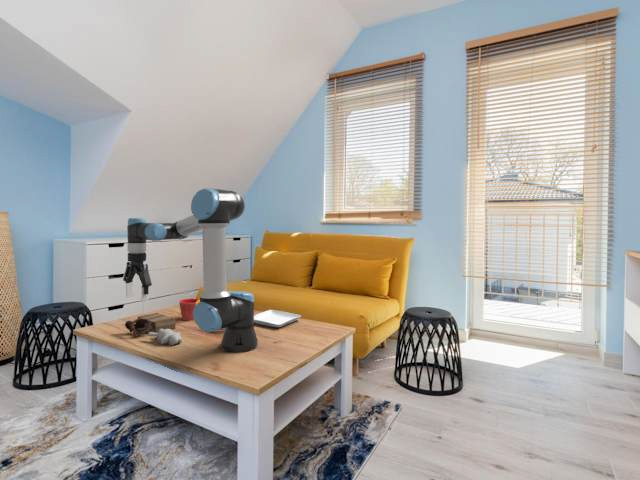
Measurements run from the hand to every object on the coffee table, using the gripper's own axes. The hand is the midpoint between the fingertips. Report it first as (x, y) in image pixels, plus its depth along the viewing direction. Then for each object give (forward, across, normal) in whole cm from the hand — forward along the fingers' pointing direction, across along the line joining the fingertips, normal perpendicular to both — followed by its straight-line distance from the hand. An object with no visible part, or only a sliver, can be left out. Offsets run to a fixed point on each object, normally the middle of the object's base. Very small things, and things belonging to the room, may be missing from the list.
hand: (137, 299), depth 169 cm
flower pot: (+16, +5, -31) cm, 35 cm away
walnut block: (+16, +3, -11) cm, 20 cm away
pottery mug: (+16, 0, 0) cm, 17 cm away
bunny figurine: (+16, -19, -3) cm, 25 cm away
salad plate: (+16, -33, -56) cm, 67 cm away
